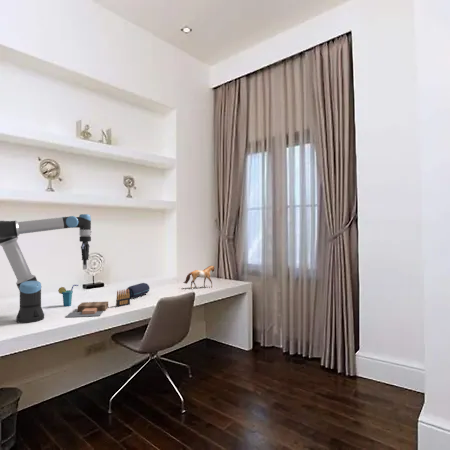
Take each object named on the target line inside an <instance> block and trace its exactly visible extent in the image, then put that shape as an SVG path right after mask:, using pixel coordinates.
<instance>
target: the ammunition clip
mask: <svg viewBox="0 0 450 450" xmlns="http://www.w3.org/2000/svg"><path fill="white" fill-rule="evenodd" d="M125 306H131V298H129V289H128V291H127V288H125V289H121V290H117V291H116V301H115V307H117V308H120V307H125Z"/></svg>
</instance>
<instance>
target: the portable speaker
mask: <svg viewBox="0 0 450 450" xmlns="http://www.w3.org/2000/svg"><path fill="white" fill-rule="evenodd" d="M126 289H127V291H128V289H129V298H130V299H135V298H138V297H141V296H144V295H146V294H148V293H149V292H150V285H149V284H148V283H145V282H140V283H138V284H133V285H129V286H128V287H127V288H126Z"/></svg>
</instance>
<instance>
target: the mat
mask: <svg viewBox="0 0 450 450" xmlns="http://www.w3.org/2000/svg"><path fill="white" fill-rule="evenodd" d="M103 312H104V311H97V312H96V313H95V314H82V312H78V311H77V312H76V311H75V312H74V311H73V312H69V313H68V314H67V315H66V316H64V318H65V319H66V318H67V319H68V318H71V319H72V318H85V317H86V318H87V317H88V318H89V317H92V318H93V317H101V316H102V314H103Z"/></svg>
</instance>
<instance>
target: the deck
mask: <svg viewBox="0 0 450 450" xmlns="http://www.w3.org/2000/svg"><path fill="white" fill-rule="evenodd" d="M85 308H97V311H103V312H105V311H107V309H108V308H109V301H89V302H88V301H87V302H80V304H78V305H77V312H82V311H83V310H84V309H85Z"/></svg>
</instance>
